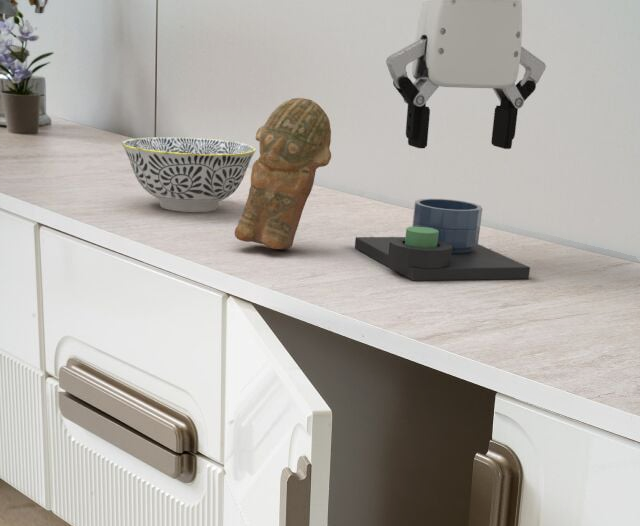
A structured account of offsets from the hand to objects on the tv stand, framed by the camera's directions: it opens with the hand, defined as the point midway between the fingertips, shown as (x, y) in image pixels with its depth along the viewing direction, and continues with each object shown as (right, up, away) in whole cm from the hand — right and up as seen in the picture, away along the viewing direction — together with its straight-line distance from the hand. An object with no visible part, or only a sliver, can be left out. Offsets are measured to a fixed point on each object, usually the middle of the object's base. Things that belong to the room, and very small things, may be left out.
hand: (459, 146), depth 116 cm
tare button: (-4, -11, -4) cm, 13 cm away
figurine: (-18, -10, +3) cm, 21 cm away
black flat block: (-2, -12, +2) cm, 12 cm away
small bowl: (-1, -10, +4) cm, 10 cm away
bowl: (-31, -1, +22) cm, 38 cm away
